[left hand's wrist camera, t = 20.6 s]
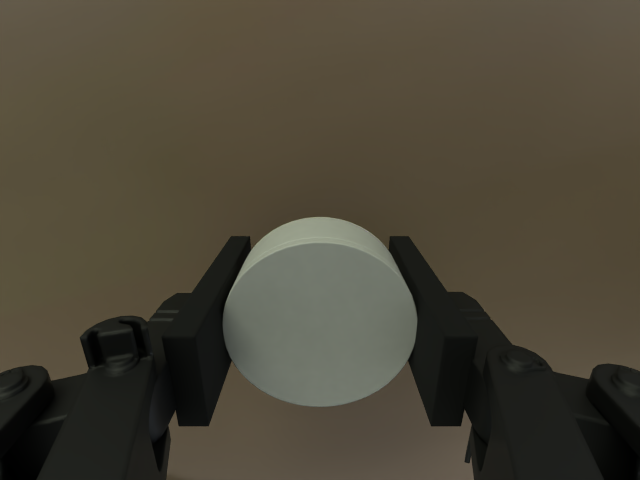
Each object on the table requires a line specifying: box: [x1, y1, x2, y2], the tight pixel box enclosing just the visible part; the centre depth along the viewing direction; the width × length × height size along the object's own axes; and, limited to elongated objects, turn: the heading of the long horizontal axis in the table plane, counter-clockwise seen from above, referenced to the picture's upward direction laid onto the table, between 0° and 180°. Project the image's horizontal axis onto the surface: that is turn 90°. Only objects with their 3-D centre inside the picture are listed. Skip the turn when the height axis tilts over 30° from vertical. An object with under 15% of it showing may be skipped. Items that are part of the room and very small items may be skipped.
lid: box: [222, 217, 418, 407], centre depth 11 cm, size 6×6×2 cm
